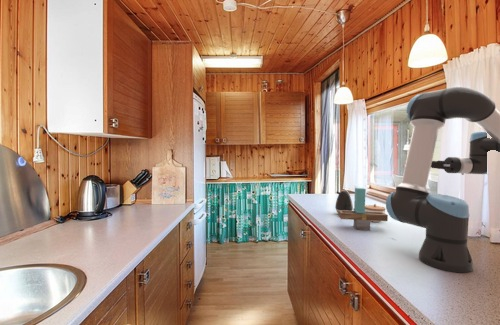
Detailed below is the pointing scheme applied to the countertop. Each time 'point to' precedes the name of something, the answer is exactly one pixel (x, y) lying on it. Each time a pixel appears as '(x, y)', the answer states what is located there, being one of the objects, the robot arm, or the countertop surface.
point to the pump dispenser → (344, 201)
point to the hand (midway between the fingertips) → (404, 163)
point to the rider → (359, 200)
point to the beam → (362, 218)
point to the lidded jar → (374, 209)
